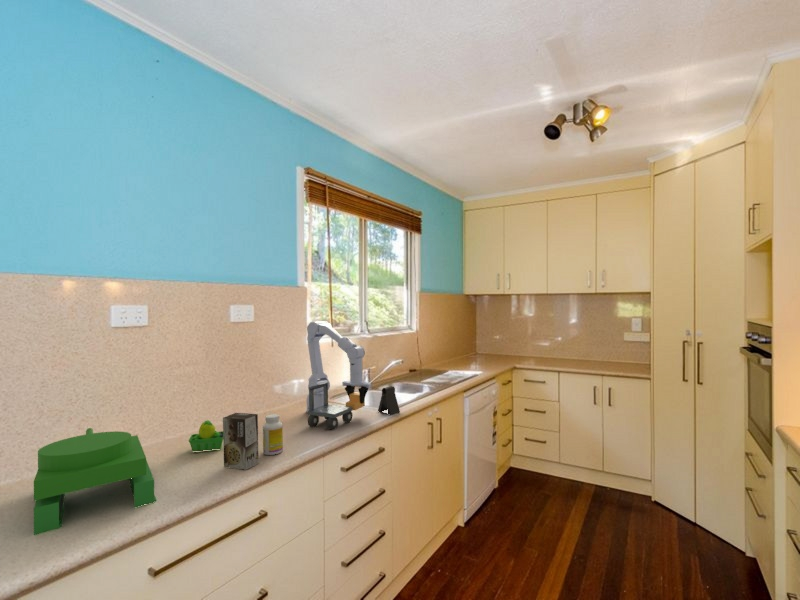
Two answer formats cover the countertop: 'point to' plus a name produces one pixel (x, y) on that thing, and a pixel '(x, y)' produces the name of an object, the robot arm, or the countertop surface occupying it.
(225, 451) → the coffee box
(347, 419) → the trolley wheels
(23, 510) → the countertop surface
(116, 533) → the countertop surface
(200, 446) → the fruit basket
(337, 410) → the trolley
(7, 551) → the countertop surface
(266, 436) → the supplement bottle
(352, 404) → the wheel chock
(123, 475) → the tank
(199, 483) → the countertop surface
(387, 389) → the black triangular stand
